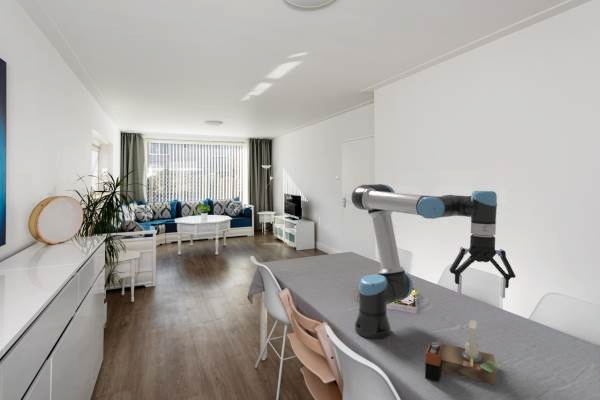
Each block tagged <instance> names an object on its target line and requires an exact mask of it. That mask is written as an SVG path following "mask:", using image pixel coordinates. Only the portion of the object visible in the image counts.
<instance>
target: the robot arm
mask: <svg viewBox="0 0 600 400" xmlns="http://www.w3.org/2000/svg"><path fill="white" fill-rule="evenodd" d="M497 196H498V195H497V193H496V191H493V190H473V191H472V193H471V195H456V194H454V195H453V194H446V195H445V194H444V195H441V196H437V195H436V196H433V195H422V194H412V193H401V192H395V190H394V189H393V187H391V186H390V185H388V184H382V183H381V184H379V183H378V184H361V185H358V186H357V187H355V188H354V189H353V191H352V194H351V202H352V204H353V206H354V207H355V208H357V209H359V210H363V211H367V213H368V214H367V215H368V216H370V217H371V218H372V224H373V228H374V229H373V230H374V235H375V241H376V246H377V250H378V256H379V263H380V270H378V274H377V273H376V274H368V275H365V276H363V277H361V279H360V280H359V286H358V295H359V296H358V301H359V302H358V304H359V306H358V314H357V316H356V317H357V318H356V320H355V323H354V331H355V332H356V334H358V335H359V336H362V337H364V338H367V339H373V340H377V339H379V340H380V339H381V340H382V339H384V338H387V337H389V336H390V335H391V331H392V330H391V323H390V322H389V318H388V314H387V308H388V307H387V305H389V304H392V303H393V304H394V303H396V302H398V301H404V299H407V298H409V296H411V294H412V291H413V281H412V279H411V277H410V276H409V275H408V274H407V273H406V272H405V268H404V267H402V266H401V264H400V258H399V251H398V247H397V242H396V236H395V231H394V224H393V219H392V213H393V212H396V213H402V214H407V215H415V216H416V215H417V216H421V217H422V218H424V219H432V220H433V219H439V218H447V217H456V216H457V217H458V216H459V217H467V218H470V234H471V235H470V237H469V238H470V241H469V243H470V244H469V248H465V247H463V246H461V247H459V253H458V255H457V256H456V258H455V260H454V261H453V263H452V265H451V266H450V267H449V272H450V273H451V274H453V275H454V283H455V285H457V293H458V295H462V286H463V285H462V284H463V283H462V281H463V275H461V274H462V273H463V272H464V271H465V270H467V268H468V267H470V265H472V263H474V262H475V261H476V262H477V263H488V262H490V263H491V264H492V265H493V266H494V267H495V268H496V270H497V271H498V272H499V273H500V274H501V276H500V281H499V282H500V284H499V296H500V297H501V298H503V299H505V298H506V289H508V288H509V285H510V284H509V283H510V280H511V279H515V278H516V274H515V272H514V270H513V268H512V266H511V264H510V262H509V260H508V259H507V254H506V253H507V252H506V251H505V250H504V249H503V248H500V249H499V250H498V249H497V250H496V237H495V235H496V228H497V207H498V201H497V200H498V199H497V198H498V197H497ZM468 253H469V255H470V256H469V257H468V258H467V259H466V260H465V261H463V259H464V257H465V255H467V254H468ZM496 255H497V256H498V257H500V260H501V261H502V263H503V265H504V267H505V269H506V271H507V272H506V271H505V270H504V269H503V268H502V267H501V266H500V265H499V263H498V262H497V261H496V259H494V257H495V256H496ZM462 261H463V263H462V264H461V262H462ZM460 264H461V265H460Z"/></svg>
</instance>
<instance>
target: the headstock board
mask: <svg viewBox="0 0 600 400" xmlns="http://www.w3.org/2000/svg"><path fill="white" fill-rule="evenodd" d="M433 343H435V344H437V345H438V346H440V347H442V372H444V373H448V374H452V375H455V376H459V377H464V378H466V379H471V380H475V381H478V382H482V383H486V384H490V385H494V386H497V374H498V372H497V370H498V369H499V368H501V365H499V364H496V360H495V358H496V357H495V354H491V353H487V352H483V351H479V353H478V354H479V355H480V356H481V357H482V361H481V362H479V363H473V367H470V362H469V361H467V360H465V359H464V358H463V357H462V352H464V351H465V347H461V346H455V345H451V344H448V343H447V344H446V343H442V342H437V341H432V343H431V344H433Z"/></svg>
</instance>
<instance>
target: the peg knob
mask: <svg viewBox="0 0 600 400" xmlns="http://www.w3.org/2000/svg"><path fill="white" fill-rule="evenodd" d="M468 321H469V323H468V324H469V325H468V326H469V327H468V340H467V341H465V347H464V348H465V351H464V352H462V357H463V358H464V359H465V360H467V361H469V362H470V367H473V363H479V362H481V361H482V357H481V356H480V355H479V354H478V353H479V352H480V348H479V347H480V345H479V343H478V342H477V321H476V320H474V319H469V320H468Z"/></svg>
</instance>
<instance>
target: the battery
mask: <svg viewBox="0 0 600 400" xmlns="http://www.w3.org/2000/svg"><path fill="white" fill-rule="evenodd" d="M432 343H433V342H432ZM432 343H430V344H428V345H427V346H428V347H427V348H426V351H425V359H424V360H425V362H424V363H425V366H424V369H425V370H424V374H425V375H424V378H425V379H426V380H429V381H432V382H435V383H439V382H440V379H441V377H442V372H443V371H442V347H440V346H438V345H437V344H435V343H433V344H432Z"/></svg>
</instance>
